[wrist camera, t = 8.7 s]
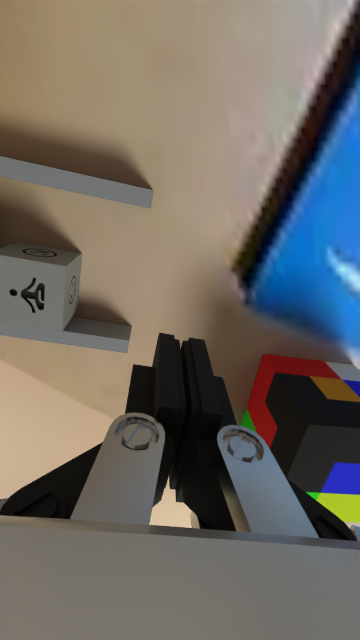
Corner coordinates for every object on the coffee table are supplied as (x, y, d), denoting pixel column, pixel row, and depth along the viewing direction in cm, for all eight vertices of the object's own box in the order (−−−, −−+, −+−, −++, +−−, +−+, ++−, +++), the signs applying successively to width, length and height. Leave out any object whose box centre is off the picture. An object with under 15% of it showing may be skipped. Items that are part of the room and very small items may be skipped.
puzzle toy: (353, 364, 32) (433, 434, 23) (320, 437, 36) (377, 523, 26) (262, 354, 30) (308, 424, 21) (239, 430, 34) (269, 518, 25)
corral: (-26, 149, 22) (-52, 144, 19) (153, 190, 24) (153, 190, 21) (-19, 315, 27) (-39, 329, 24) (129, 337, 29) (127, 353, 26)
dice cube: (77, 307, 27) (62, 331, 23) (18, 298, 26) (-10, 321, 22) (82, 252, 25) (66, 266, 21) (18, 241, 25) (-13, 252, 20)
